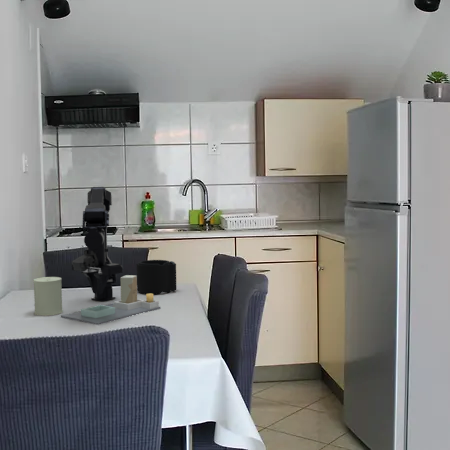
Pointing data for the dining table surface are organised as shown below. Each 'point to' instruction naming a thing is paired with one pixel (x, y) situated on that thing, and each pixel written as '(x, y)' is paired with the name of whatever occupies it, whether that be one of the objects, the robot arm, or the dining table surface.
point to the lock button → (149, 298)
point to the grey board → (107, 312)
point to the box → (128, 289)
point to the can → (48, 296)
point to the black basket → (156, 276)
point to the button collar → (149, 304)
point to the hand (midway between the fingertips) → (97, 293)
